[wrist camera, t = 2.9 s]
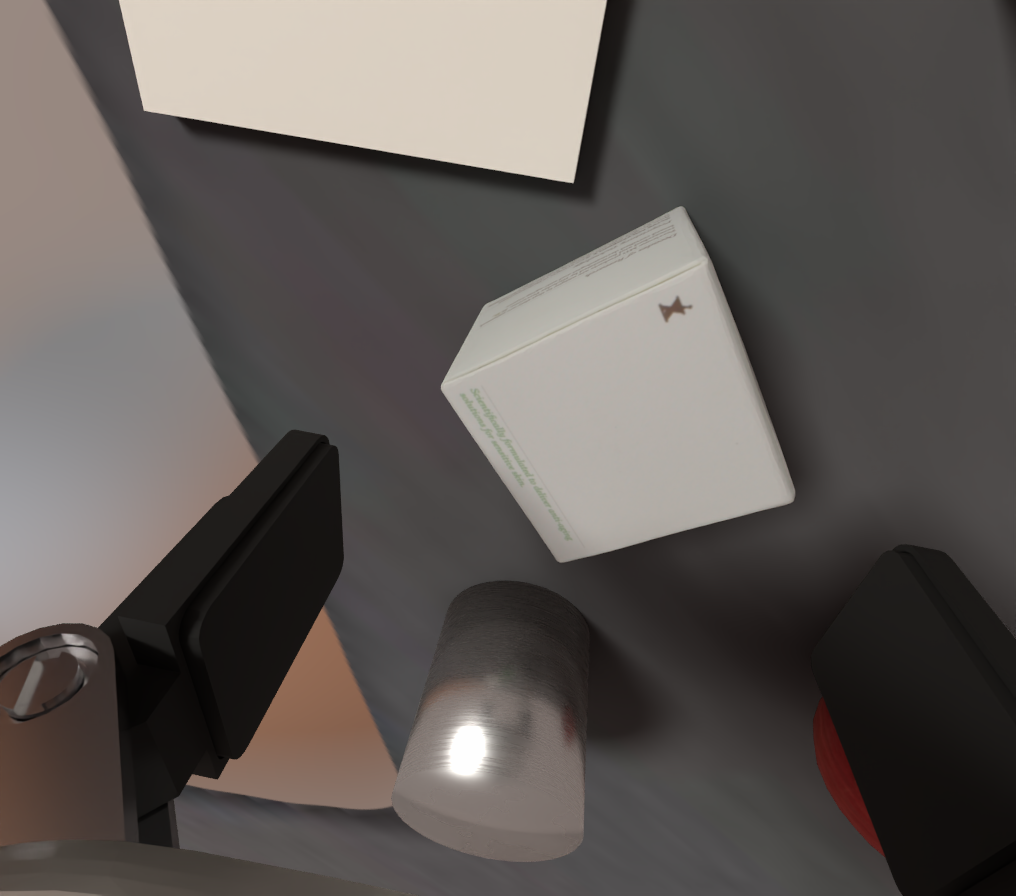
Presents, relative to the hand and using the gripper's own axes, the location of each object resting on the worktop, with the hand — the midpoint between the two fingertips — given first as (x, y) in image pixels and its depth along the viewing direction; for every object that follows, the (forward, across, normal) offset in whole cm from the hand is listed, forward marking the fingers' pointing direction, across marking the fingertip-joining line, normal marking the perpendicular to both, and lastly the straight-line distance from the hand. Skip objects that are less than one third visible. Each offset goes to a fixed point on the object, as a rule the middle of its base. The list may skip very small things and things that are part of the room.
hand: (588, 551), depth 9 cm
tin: (+7, 0, +12) cm, 14 cm away
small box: (+7, -1, -1) cm, 7 cm away
